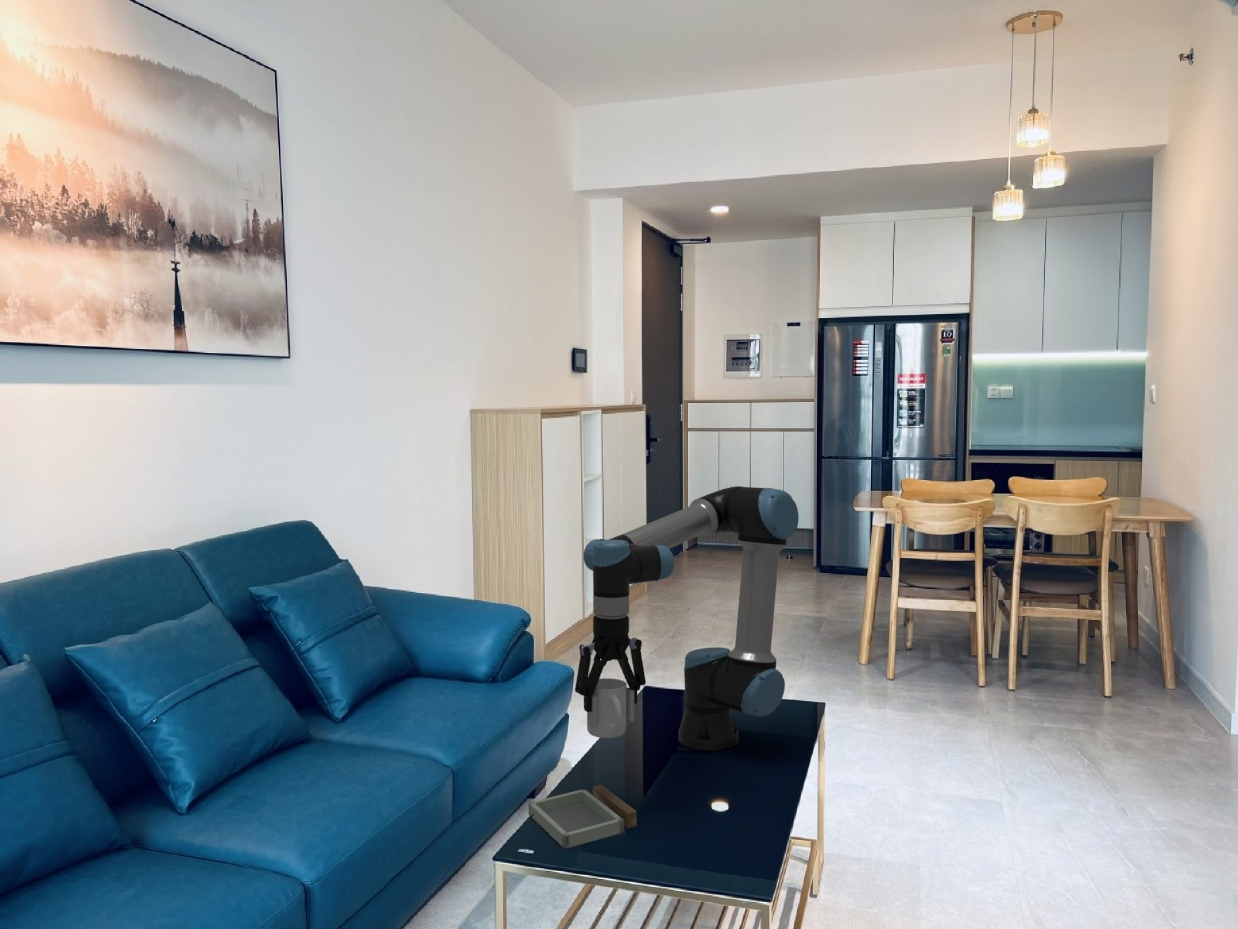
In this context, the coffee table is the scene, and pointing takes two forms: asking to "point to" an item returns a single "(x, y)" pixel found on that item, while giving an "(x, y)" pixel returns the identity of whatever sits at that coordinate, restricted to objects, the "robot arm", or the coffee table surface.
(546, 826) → the frame
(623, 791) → the coffee table surface
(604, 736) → the mug
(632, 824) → the edge rail
